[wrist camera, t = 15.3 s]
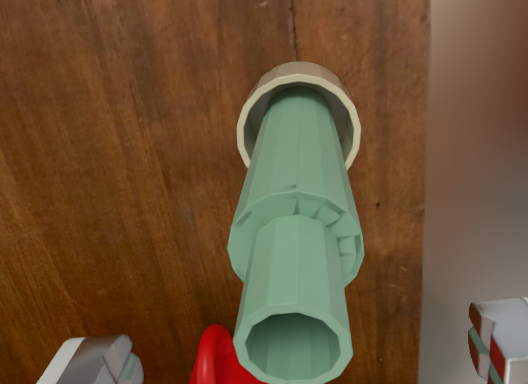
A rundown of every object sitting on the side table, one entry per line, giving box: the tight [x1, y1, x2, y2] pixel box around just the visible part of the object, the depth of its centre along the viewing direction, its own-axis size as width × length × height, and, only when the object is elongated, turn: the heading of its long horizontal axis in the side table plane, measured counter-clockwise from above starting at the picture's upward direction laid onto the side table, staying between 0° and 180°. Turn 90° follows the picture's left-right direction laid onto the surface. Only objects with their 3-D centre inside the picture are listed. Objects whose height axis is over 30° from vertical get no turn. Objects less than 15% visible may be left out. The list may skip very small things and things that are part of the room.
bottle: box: [227, 86, 364, 384], centre depth 18 cm, size 4×4×19 cm
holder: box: [237, 61, 361, 170], centre depth 25 cm, size 7×7×4 cm
